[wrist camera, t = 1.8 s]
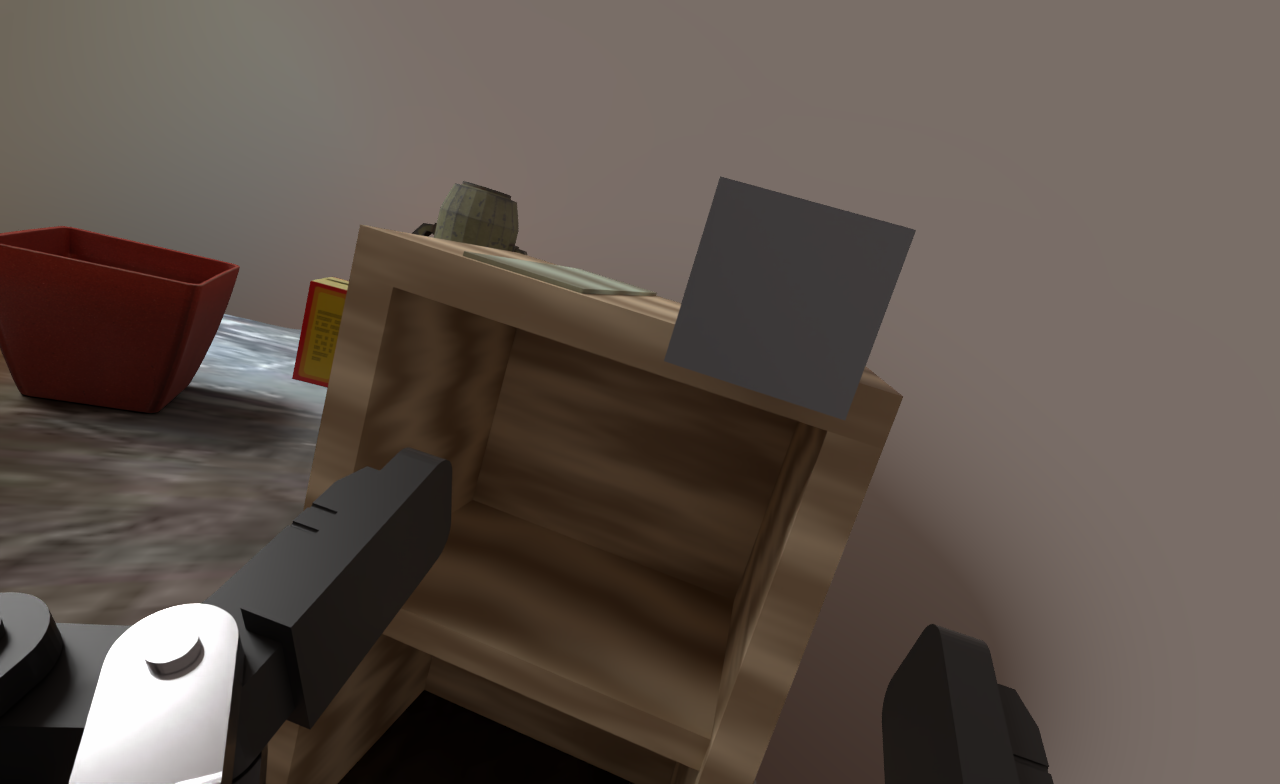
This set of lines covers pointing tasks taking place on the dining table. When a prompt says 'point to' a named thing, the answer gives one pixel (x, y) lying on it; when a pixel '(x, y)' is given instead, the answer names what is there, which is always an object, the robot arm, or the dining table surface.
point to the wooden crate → (581, 517)
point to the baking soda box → (320, 330)
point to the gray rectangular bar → (787, 296)
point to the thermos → (476, 218)
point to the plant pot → (106, 316)
